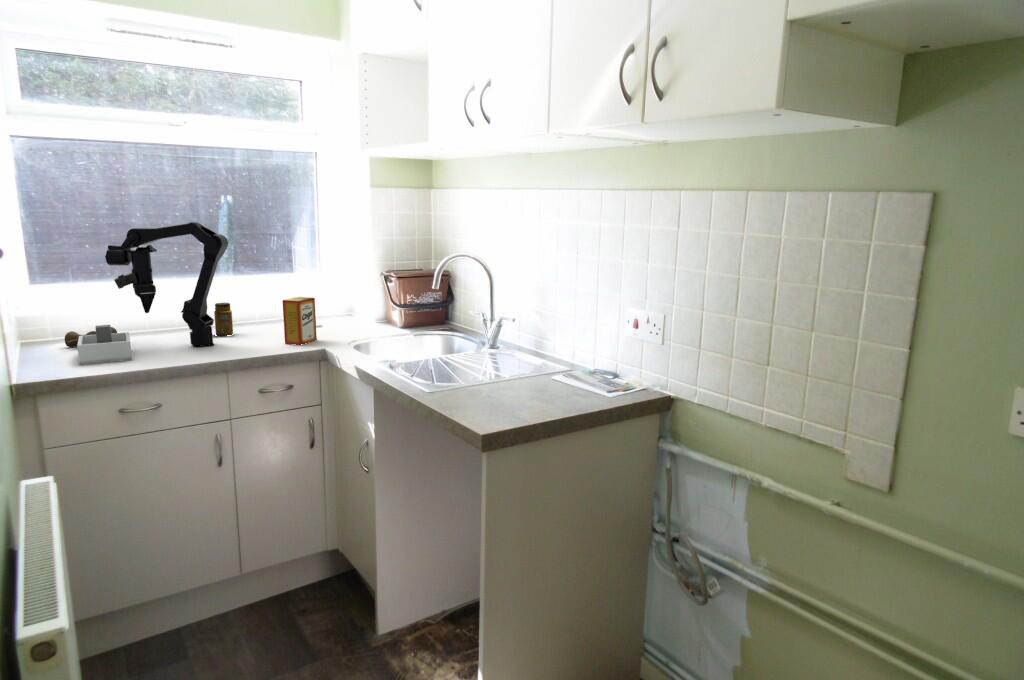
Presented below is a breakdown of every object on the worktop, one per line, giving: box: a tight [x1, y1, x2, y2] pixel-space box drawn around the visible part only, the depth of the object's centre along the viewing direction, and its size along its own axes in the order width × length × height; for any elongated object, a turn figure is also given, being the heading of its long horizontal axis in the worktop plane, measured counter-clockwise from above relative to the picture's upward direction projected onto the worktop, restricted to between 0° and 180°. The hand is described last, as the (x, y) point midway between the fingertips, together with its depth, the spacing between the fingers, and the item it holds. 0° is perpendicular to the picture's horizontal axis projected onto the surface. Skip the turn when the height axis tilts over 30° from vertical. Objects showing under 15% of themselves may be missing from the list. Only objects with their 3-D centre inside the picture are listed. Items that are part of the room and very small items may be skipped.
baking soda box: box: [282, 296, 318, 346], centre depth 239 cm, size 10×6×16 cm
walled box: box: [76, 331, 133, 366], centre depth 214 cm, size 14×18×6 cm
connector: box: [95, 324, 112, 344], centre depth 214 cm, size 4×4×9 cm
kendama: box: [64, 326, 118, 348], centre depth 232 cm, size 6×10×20 cm
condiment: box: [212, 302, 234, 338], centre depth 251 cm, size 7×8×12 cm
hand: (146, 311), depth 231 cm, fingers open, 9 cm apart
